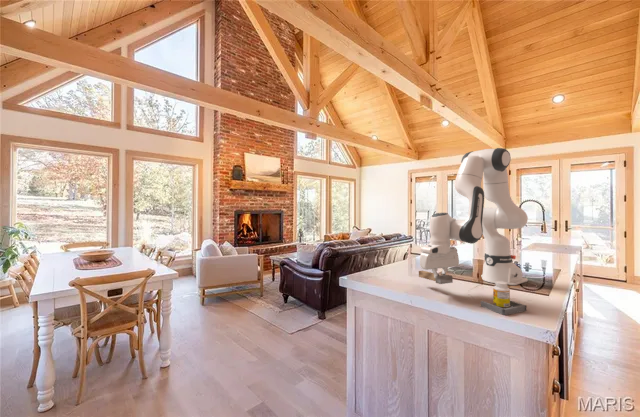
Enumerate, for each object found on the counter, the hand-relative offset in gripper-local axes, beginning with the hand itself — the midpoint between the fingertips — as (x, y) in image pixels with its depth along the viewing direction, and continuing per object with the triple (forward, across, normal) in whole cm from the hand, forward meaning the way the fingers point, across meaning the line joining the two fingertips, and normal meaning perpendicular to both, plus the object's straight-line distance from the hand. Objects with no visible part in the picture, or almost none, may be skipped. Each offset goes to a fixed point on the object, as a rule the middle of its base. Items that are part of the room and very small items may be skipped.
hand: (439, 277), depth 130 cm
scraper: (+2, 0, -4) cm, 5 cm away
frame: (+8, -9, +24) cm, 27 cm away
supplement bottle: (+8, -9, +23) cm, 26 cm away
